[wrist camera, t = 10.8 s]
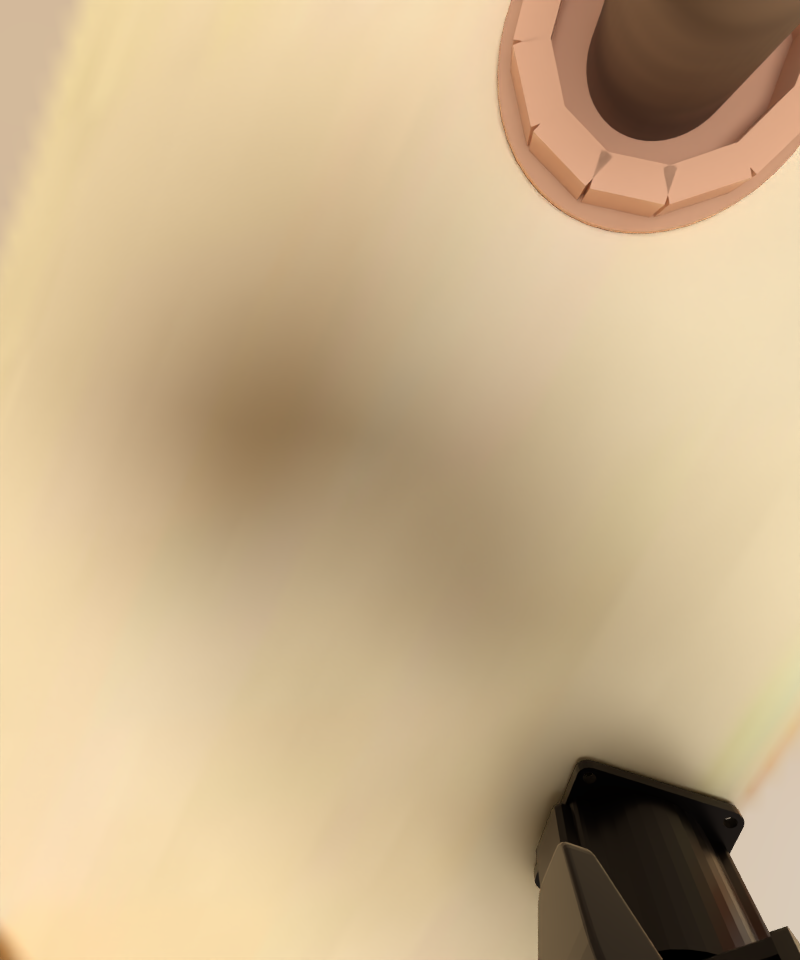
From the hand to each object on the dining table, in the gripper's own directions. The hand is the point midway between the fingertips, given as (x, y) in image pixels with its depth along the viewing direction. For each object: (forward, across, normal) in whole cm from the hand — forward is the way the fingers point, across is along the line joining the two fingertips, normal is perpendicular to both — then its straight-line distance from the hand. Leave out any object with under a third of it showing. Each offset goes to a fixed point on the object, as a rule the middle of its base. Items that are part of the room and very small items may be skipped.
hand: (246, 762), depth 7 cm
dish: (+13, -4, -16) cm, 21 cm away
